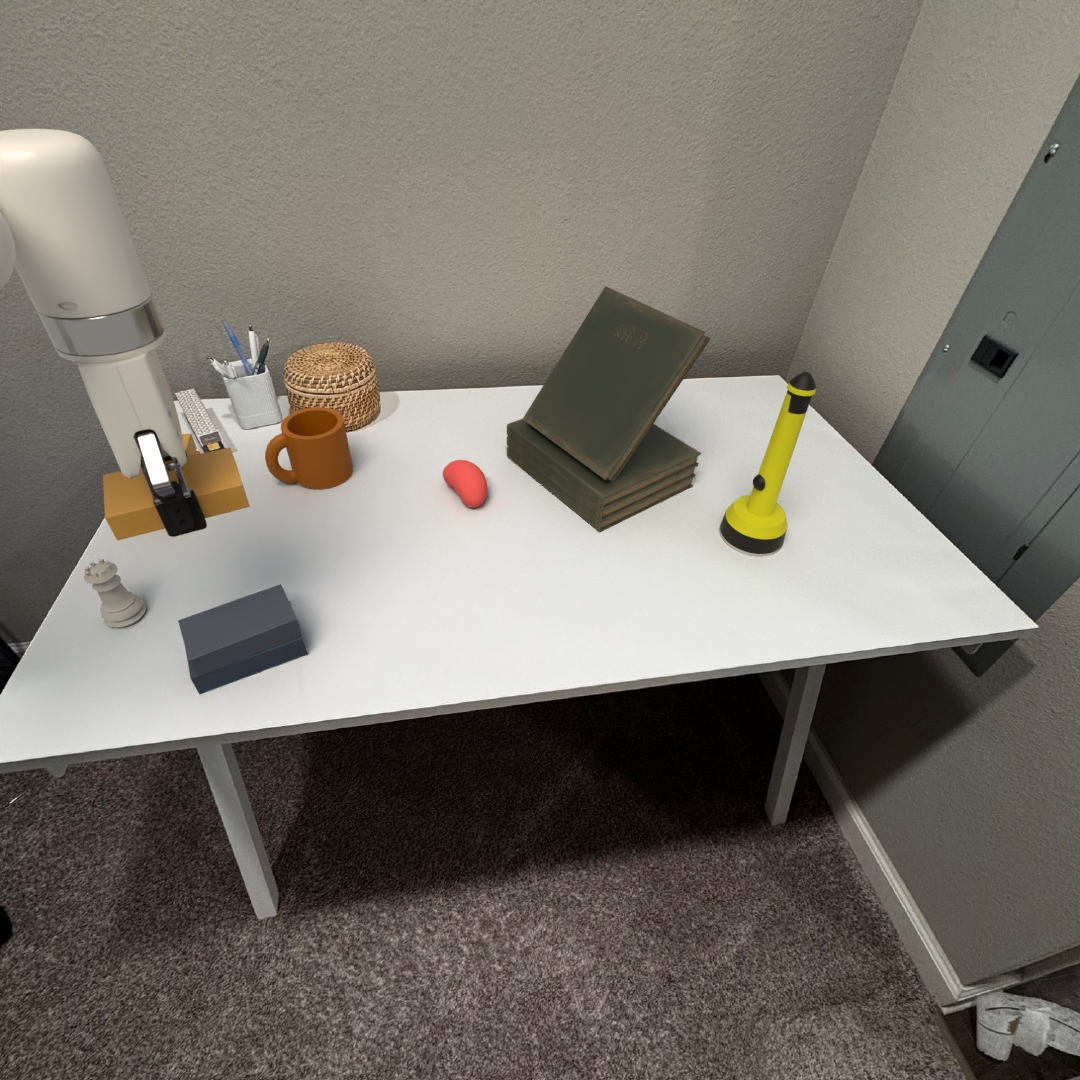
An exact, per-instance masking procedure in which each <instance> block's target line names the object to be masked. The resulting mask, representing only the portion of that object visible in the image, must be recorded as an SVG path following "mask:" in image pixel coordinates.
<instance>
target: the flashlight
mask: <svg viewBox="0 0 1080 1080" xmlns="http://www.w3.org/2000/svg"><path fill="white" fill-rule="evenodd" d="M816 384H817V383H816V381H815V379H814V376H813V375H812V374H811V373H810V372H808V371H802V372H800V373H798V374H797V375H795V376H794V377H793V378H791V379H790V380H789V381H788V383H787V385H786V389H787V390H786V393H785V395H784V399H783V402H782V405H781V408H780V410H779V413H778V416H777V418H776V422H775V425H774V427H773V430H772V432H771V436H770V439H769V442H768V444H767V448H766V450H765V453H764V456H763V459H762V462H761V464H760V467H759V470H758V472H757V474H756V475H755V476H754V477H753V479H752V486H753V487H752V490H751V493H750V494H747V495H742V496H740V497H738V498H737V499H736V500H734V501H733V502H732V503H731V504H730V505H729V506H728V507H727V508H726V510H725V512H724V515H723V517H722V520H721V522H720V525H719V528H718V533H719V536H720V538H721V539H722V541H723V542H724V543H725V544H726V545H727V546H728V547H730V549H732V550H735V551H737V552H739V553H741V554H744V555H747V556H752V557H769V556H771V555H774V554H777V553H778V552H779V551H780V550H781V549H782V547H783V546H784V542H785V539H786V535H787V531H788V525H789V524H788V520H787V516H786V511H785V509H784V507H783V506H782V505H780V503H778V499H779V496H780V493H781V490H782V487H783V484H784V480H785V478H786V475H787V472H788V469H789V466H790V464H791V459H792V457H793V454H794V451H795V448H796V444H797V441H798V439H799V436H800V433H801V430H802V427H803V424H804V421H805V417H806V415H807V411H808V410H809V409H808V408H809V406H810V403H811V400H812V398H813V396H814V395H815V394H816V392H817V391H816V390H817V385H816Z"/></svg>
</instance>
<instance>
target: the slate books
mask: <svg viewBox="0 0 1080 1080" xmlns="http://www.w3.org/2000/svg"><path fill="white" fill-rule="evenodd" d="M177 622H178V625H179V629H180V634H181V637H182V641H183V644H184V651H185V656H186V661H187V666H188V672H189V678H190V681H191V682H192V685H194V688H195V689H196V691H197V693H198V695H201V694H204V693H208V692H209V691H212V690H215V689H217V688H220V687H223V686H226V685H229V684H231V683H234V682H237V681H239V680H243V679H245V678H247V677H250V676H252V675H253V676H254V675H255V674H259V673H261V672H264V671H267V670H269V669H272V668H274V667H278V666H281V665H283V664H285V663H288V662H291V661H294V660H297V659H299V658H302V657H304V656H307V655H309V651H308V649H307V646H306V643H305V640H304V637H303V632H302V629H301V627H300V623H299V620H298V618H297V615H296V614H295V611H294V609H293V606H292V603H291V601H290V600H289V598H288V595H287V594H286V590H285V589H284V586H283V584H282V583H279V584H276V585H274V586H270V587H268V588H265V589H262V590H260V591H256V592H254V593H251V594H248V595H245V596H242V597H240V598H237V599H234V600H231V601H229V602H225V603H222V604H220V605H217V606H214V607H211V608H209V609H206V610H203V611H200V612H197V613H194V614H192V615H190V616H186V617H185V618H184V617H183V618H180V619H178V620H177Z"/></svg>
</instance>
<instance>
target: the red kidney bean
mask: <svg viewBox="0 0 1080 1080" xmlns="http://www.w3.org/2000/svg"><path fill="white" fill-rule="evenodd" d="M442 478H443V480H444V482H445V483H446V484H447V485H448V486H449V487H451V488H452V489H453V490H454V491H455V492H456V494H457V495H458V497H459V498H460V500H461V501H462V502H463V504H464V505H466V506H467V507H468V508H478V507H481V506H482V505H483V503H484V502H485V501H486V498H487V496H488V488H489V487H488V481H487V478H486V476H485V473H484V472H483V470H482V469H481V468H480V467H479V466H478V465H477V464H476V463H473V462H472V461H469V460H467V459H457V460H453V461H451V462H449V463H448V464H446V466H445V467H444V468H443V471H442Z"/></svg>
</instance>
